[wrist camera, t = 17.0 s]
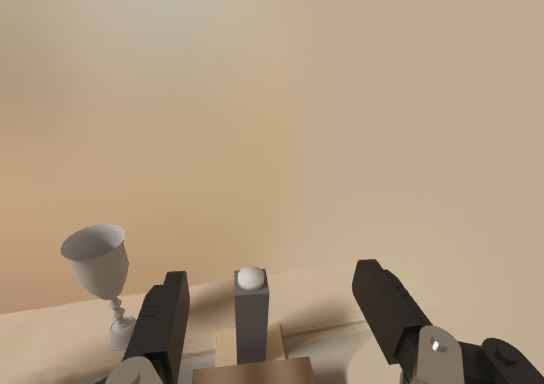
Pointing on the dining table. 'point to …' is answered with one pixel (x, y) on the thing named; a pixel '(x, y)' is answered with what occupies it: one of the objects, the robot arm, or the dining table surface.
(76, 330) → the dining table surface
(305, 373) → the wooden square socket block
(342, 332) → the dining table surface
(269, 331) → the pad
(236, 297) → the plug
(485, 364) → the robot arm
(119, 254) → the chalice
